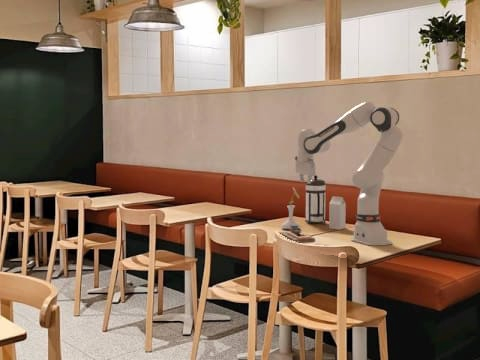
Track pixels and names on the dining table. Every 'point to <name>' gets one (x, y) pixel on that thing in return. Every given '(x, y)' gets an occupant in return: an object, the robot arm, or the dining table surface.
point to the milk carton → (337, 213)
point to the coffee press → (315, 201)
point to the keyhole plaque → (304, 236)
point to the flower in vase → (291, 215)
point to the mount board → (297, 235)
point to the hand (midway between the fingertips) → (305, 182)
